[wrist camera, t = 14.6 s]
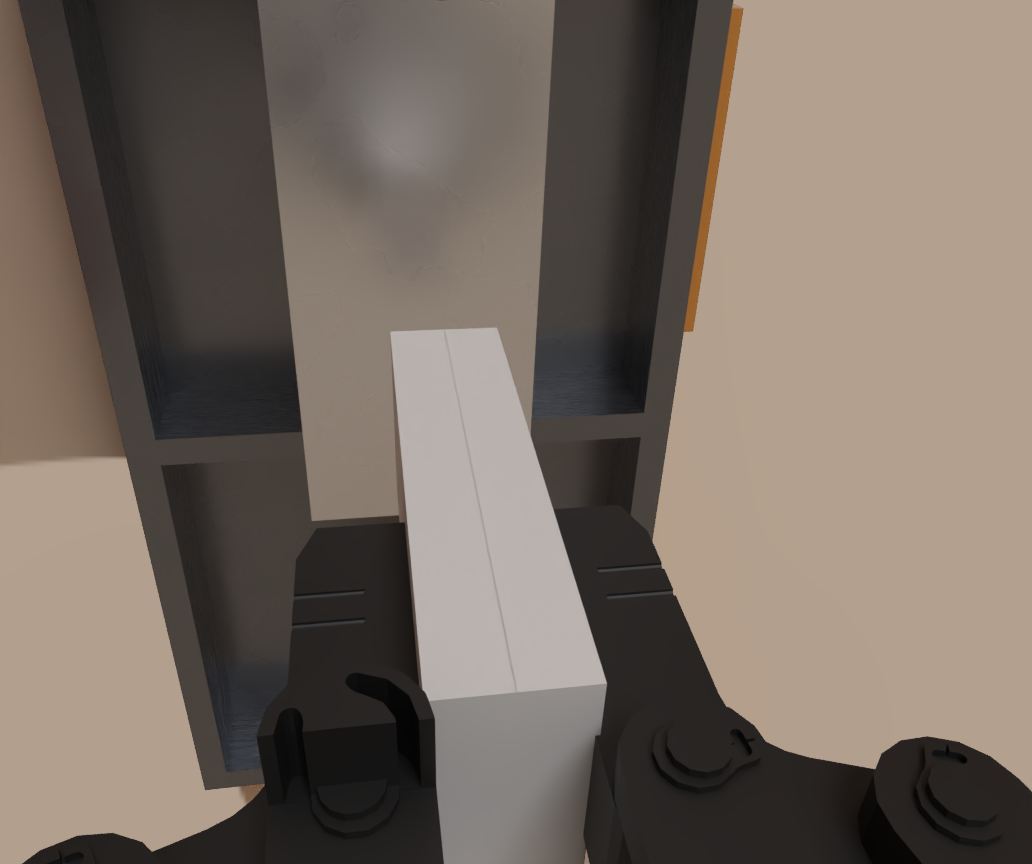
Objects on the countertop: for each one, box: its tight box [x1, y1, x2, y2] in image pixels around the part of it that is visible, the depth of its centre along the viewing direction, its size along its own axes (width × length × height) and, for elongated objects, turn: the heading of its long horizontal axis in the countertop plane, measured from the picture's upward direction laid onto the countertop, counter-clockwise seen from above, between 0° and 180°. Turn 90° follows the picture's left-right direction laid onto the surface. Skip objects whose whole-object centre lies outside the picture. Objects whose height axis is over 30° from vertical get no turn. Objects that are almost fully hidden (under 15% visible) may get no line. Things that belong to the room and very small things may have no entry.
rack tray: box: [18, 0, 743, 790], centre depth 26 cm, size 15×28×4 cm, turn 178°
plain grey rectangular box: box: [257, 0, 555, 521], centre depth 20 cm, size 4×10×8 cm, turn 178°
